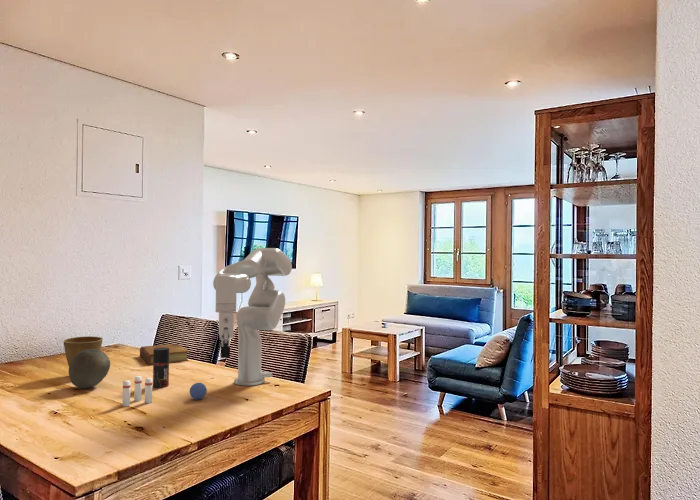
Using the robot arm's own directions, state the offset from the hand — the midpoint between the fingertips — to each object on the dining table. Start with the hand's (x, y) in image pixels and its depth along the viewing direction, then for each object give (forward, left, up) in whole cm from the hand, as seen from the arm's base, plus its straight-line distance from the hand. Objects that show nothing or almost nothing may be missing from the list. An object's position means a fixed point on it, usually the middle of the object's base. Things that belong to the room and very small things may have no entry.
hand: (225, 355), depth 181 cm
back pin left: (+33, +2, -16) cm, 37 cm away
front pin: (+26, 0, -16) cm, 31 cm away
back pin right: (+30, -4, -16) cm, 35 cm away
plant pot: (+58, -46, -16) cm, 76 cm away
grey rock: (+51, -26, -16) cm, 60 cm away
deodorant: (+24, -22, -16) cm, 37 cm away
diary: (+28, -76, -17) cm, 83 cm away
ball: (+9, 0, -13) cm, 16 cm away
